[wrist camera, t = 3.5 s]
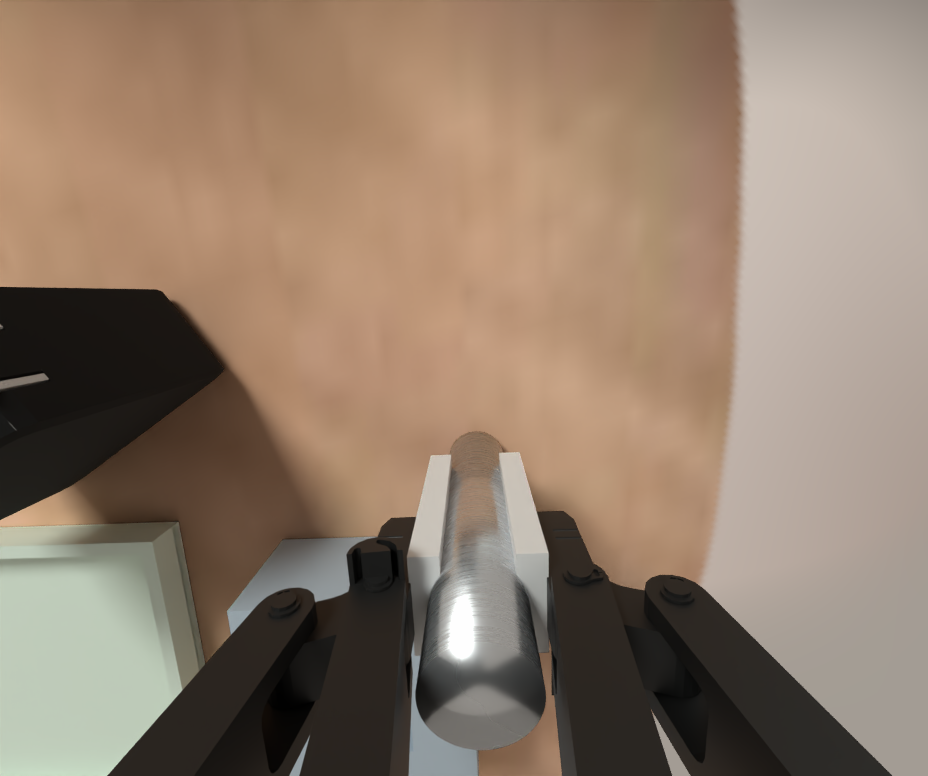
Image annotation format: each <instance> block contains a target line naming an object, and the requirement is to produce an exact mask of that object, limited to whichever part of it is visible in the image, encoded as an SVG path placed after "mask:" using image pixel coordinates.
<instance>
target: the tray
mask: <svg viewBox="0 0 928 776" xmlns="http://www.w3.org/2000/svg"><path fill="white" fill-rule="evenodd" d="M204 665H205V660H204V655H203V649H202V644H201V639H200V633H199V628H198V623H197V617H196V612H195V607H194V601H193V596H192V591H191V585H190V580H189V575H188V569H187V564H186V559H185V554H184V548H183V543H182V538H181V532H180V527H179V522H153V523H122V524H91V525H60V526H29V527H0V776H107V775H108V774H109V773H110V772H111V771H112V770H113V769H114V767H115V766H116V765H117V764H118V763H119V762H120V761H121V759H122V758H123V757H124V756H125V755H126V754H127V753H128V751H129V750H130V749H131V748H132V747H133V746H134V745H135V744H136V742H137V741H138V740H139V739H140V738H141V737H142V736H143V734H144V733H145V732H146V731H147V730H148V729H149V728H150V726H151V725H152V724H153V723H154V722H155V721H156V720H157V719H158V717H159V716H160V715H161V714H162V713H163V712H164V711H165V709H166V708H167V707H168V706H169V705H170V704H171V703H172V701H173V700H174V699H175V698H176V697H177V696H178V695H179V694H180V692H181V691H182V690H183V689H184V688H185V687H186V686H187V684H188V683H189V682H190V681H191V680H192V679H193V678H194V676H195V675H196V674H197V673H198V672H199V671H200V670H201V669H202V667H203V666H204Z"/></svg>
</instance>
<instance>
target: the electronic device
mask: <svg viewBox="0 0 928 776" xmlns="http://www.w3.org/2000/svg"><path fill="white" fill-rule="evenodd" d="M223 370H224V368H223V367H222V365H221V364H220V363H219V362H218V360H217V359H216V358H215V357H214V355H213V354H212V353H211V352H210V350H209V349H208V348H207V347H206V345H205V344H204V343H203V342H202V341H201V339H200V338H199V337H198V336H197V334H196V333H195V332H194V331H193V329H192V328H191V327H190V326H189V324H188V323H187V322H186V321H185V319H184V318H183V317H182V316H181V314H180V313H179V312H178V311H177V309H176V308H175V307H174V306H173V304H172V303H171V302H170V301H169V300H168V298H167V297H166V296H165V295H164V293H163V292H162V291H159V290H149V289H89V288H30V287H0V520H1V519H3V518H5V517H7V516H9V515H12V514H14V513H16V512H18V511H20V510H22V509H24V508H26V507H28V506H30V505H33V504H35V503H37V502H39V501H41V500H43V499H45V498H47V497H49V496H52V495H54V494H56V493H58V492H60V491H62V490H64V489H66V488H68V487H69V486H71V485H73V484H75V483H76V482H78V481H79V480H81V479H82V478H83V477H85V476H86V475H87V474H89V473H90V472H91V471H93V470H94V469H95V468H97V467H98V466H99V465H101V464H102V463H103V462H105V461H106V460H107V459H109V458H110V457H111V456H113V455H114V454H115V453H117V452H118V451H119V450H121V449H122V448H123V447H125V446H126V445H127V444H129V443H130V442H131V441H133V440H134V439H136V438H137V437H138V436H140V435H141V434H142V433H144V432H145V431H146V430H148V429H149V428H150V427H152V426H153V425H154V424H156V423H157V422H158V421H160V420H161V419H162V418H164V417H165V416H166V415H168V414H169V413H170V412H172V411H173V410H174V409H176V408H177V407H178V406H180V405H181V404H182V403H184V402H185V401H186V400H188V399H189V398H190V397H192V396H193V395H194V394H196V393H197V392H198V391H200V390H201V389H202V388H204V387H205V386H206V385H208V384H209V383H210V382H212V381H213V380H214V379H215V378H216V377H218V376H219V375H220V374H221V373H222V372H223Z"/></svg>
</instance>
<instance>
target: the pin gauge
mask: <svg viewBox="0 0 928 776" xmlns="http://www.w3.org/2000/svg"><path fill="white" fill-rule="evenodd" d="M499 453H503V450H502V447H501V445H500V443H499V442H498V441H497V440H496V439H495V438H494V437H493V436H491V435H489V434H487V433H484V432H478V431H475V432H469V433H466V434H464V435H462V436H460V437H459V438H458V439H457V440H456V441H455V442H454V444H453V445H452V447H451V450H450V455H451V461H452V472H451V481H450V490H449V500H448V509H447V518H446V527H445V536H444V546H443V555H442V564H441V573H440V577H439V578H438V579H437V580H436V582H435V583H434V585H433V587H432V589H431V592H430V595H429V601H428V608H427V615H426V622H425V629H424V635H423V642H422V649H421V656H420V663H419V670H418V677H417V684H416V691H415V700H416V706H417V709H418V712H419V714H420V717H421V719H422V720H423V722H424V723H425V725H426V726H427V727H428V728H429V729H430V730H431V731H432V732H433V733H434V734H435V735H436V736H438V737H439V738H441V739H442V740H444V741H446V742H448V743H450V744H452V745H455V746H458V747H461V748H465V749H472V750H492V749H498V748H502V747H505V746H508V745H510V744H513V743H515V742H517V741H519V740H520V739H522V738H523V737H525V736H526V735H527V734H528V733H529V732H531V731H532V730H533V728H534V727H535V726H536V725H537V723H538V722H539V720H540V718H541V716H542V714H543V712H544V708H545V702H546V692H545V685H544V680H543V674H542V668H541V663H540V657H539V652H538V646H537V640H536V635H535V629H534V623H533V618H532V612H531V606H530V601H529V596H528V592H527V589H526V587H525V585H524V583H523V582H522V581H521V579H520V578H519V577H518V576H517V575H516V569H515V563H514V556H513V550H512V543H511V537H510V530H509V524H508V518H507V511H506V505H505V498H504V492H503V485H502V479H501V473H500V466H499Z"/></svg>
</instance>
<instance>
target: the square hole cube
mask: <svg viewBox="0 0 928 776" xmlns="http://www.w3.org/2000/svg"><path fill="white" fill-rule="evenodd" d="M370 538H375V537H349V538H317V539H284V540H282V541H281V542H280V544H279V545H278V546H277V548H276V549H275V550H274V551H273V553H272V554H271V555H270V557H269V558H268V559H267V560H266V562H265V563H264V564H263V566H262V567H261V568H260V569H259V571H258V572H257V573H256V575H255V576H254V577H253V578H252V580H251V581H250V582H249V584H248V585H247V586H246V587H245V589H244V590H243V591H242V593H241V594H240V595H239V596H238V598H237V599H236V600H235V602H234V603H233V604H232V605H231V607H230V608H229V609H228V611H227V615H228V620H229V626H230V632H231V634H232V633H233V632H234V631H235V630H236V629H237V628H238V626H239V625H240V624H241V623H242V622H243V621H244V620H245V619H246V617H247V616H248V615H249V614H250V613H251V612H252V611H253V609H254V608H255V607H256V606H257V605H258V604H259V603H260V602H261V601H262V600H264V599H265V598H266V597H267V596H269V595H271V594H273V593H275V592H277V591H280V590H284V589H287V588H298V587H300V588H304V589H308V590H310V591H311V592H312V593H313V594H314V598H315V602H317V601H321V600H325V599H329V598H333V597H336V596H339V595H342V594H344V593H346V592H348V590H349V586H350V583H349V574H348V565H347V556H346V554H347V552H348V551H349V549H350V548H351V547H353V546H354V545H355V544H357V543H358V542H361V541H363V540H366V539H370ZM411 656H412V668H413V680H412V704H411V729H410V753H409V776H479V759H478V750H472V749H465V748H461V747H458V746H455V745H452V744H450V743H448V742H446V741H444V740H442V739H441V738H439V737H438V736H436V735H435V734H434V733H433V732H432V731H431V730H430V729H429V728H428V727H427V726H426V725H425V723H424V722H423V720H422V719H421V717H420V714H419V712H418V709H417V706H416V700H415V691H416V684H417V677H418V670H419V663H420V656H415V653H414V642H413V648H412V654H411ZM309 737H310V736H309ZM308 741H309V738H308V740H307V742H306V744H305V746H304V748H303V750H302V752H301V754H300V756H299V758H298V759H297V761H296V763H295V765H294V767H293V769H292V771H291V773H290V775H289V776H299V775H300V771H301V767H302V763H303V759H304V756H305V752H306V748H307V744H308Z"/></svg>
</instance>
